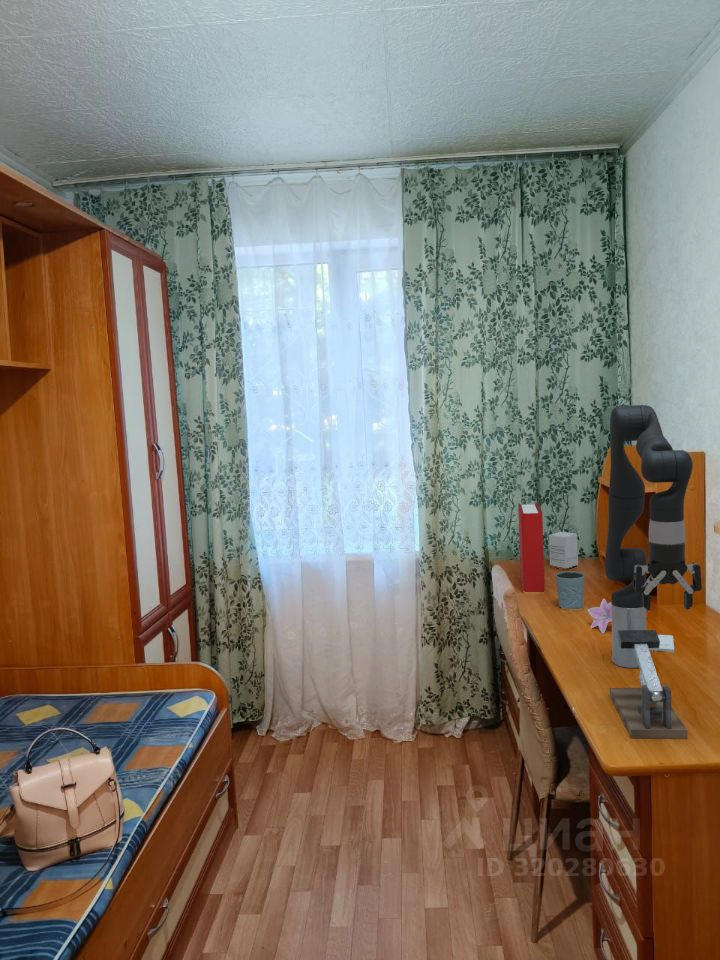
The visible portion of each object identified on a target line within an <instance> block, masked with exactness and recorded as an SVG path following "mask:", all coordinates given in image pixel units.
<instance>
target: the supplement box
mask: <svg viewBox="0 0 720 960" xmlns="http://www.w3.org/2000/svg"><path fill="white" fill-rule="evenodd" d="M548 546H549V547H548V548H549V566H550V565H553V566H557V567H562V568H569V567H572V566H575V565H578V566H579V559H578V556H579V555H578V533H575V532H566V531H559V532H555V533H551V534H549V535H548Z"/></svg>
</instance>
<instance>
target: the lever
mask: <svg viewBox="0 0 720 960" xmlns="http://www.w3.org/2000/svg"><path fill="white" fill-rule="evenodd" d="M658 635H659V634H658V632H657V629H646V630H618V636H617V637H618V641H619V644H620V648H621V649H624V648H634V651H635V655H636V658H637V661H638V664H639V667H638V668H639V671H640V672H639V678H638V680H639V682H640V686H641V687H642V685H646V686H647V687H648V689H649V690H650V702H664V701H665V696H664V692H663V687H662V686H661V681H660V679H659V676H658V674H657V670H656V667H655V664H654V661H653V658H652V655H651V651H649V648H659V645H660V640H659V637H658Z"/></svg>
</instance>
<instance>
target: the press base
mask: <svg viewBox="0 0 720 960" xmlns="http://www.w3.org/2000/svg"><path fill="white" fill-rule="evenodd" d="M662 691H663V692H664V696H665V701H664V702H650V690H649V689H648V687H647V686H646V685H642V686H641V687H609V697H610V699H611V700H612V703H613V705H614V706H615V708H616V710H617V713H618V714H619V717H620V718H621V720H622V723H623V724H624V727H625V728H626V731H627V732H629V733H628V734H630V735H629V736H631V737H630V738H631V739H665V740H666V739H671V740H672V739H675V740H676V739H683V740H684V739H685V740H686V739H688V729H687V728H686V726H685V725H684V723H683V721H682V720H681V719H680V717H679V716H678V714H677V713H676V711H675V709H673V707H672V690H671V688H670V687H669V686H668V685H667V684H665V685H664V684H663V685H662Z"/></svg>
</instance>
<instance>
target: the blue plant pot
mask: <svg viewBox="0 0 720 960" xmlns="http://www.w3.org/2000/svg"><path fill="white" fill-rule="evenodd" d="M585 575H586V574H585V573H583V572H580V571H574V570H573V571H572V570H571V571H569V570H565V571H560V572H557V573H556V574H555V581H556V586H557V588H556V589H557V591H556V592H557V600H558V601H557V604H558V607H559V606H560V607H562V608H566V609H579V610H581V609H580V608H582V607H583V608H584V592H585V590H584V588H585V577H586V576H585ZM583 608H582V609H583Z"/></svg>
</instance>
